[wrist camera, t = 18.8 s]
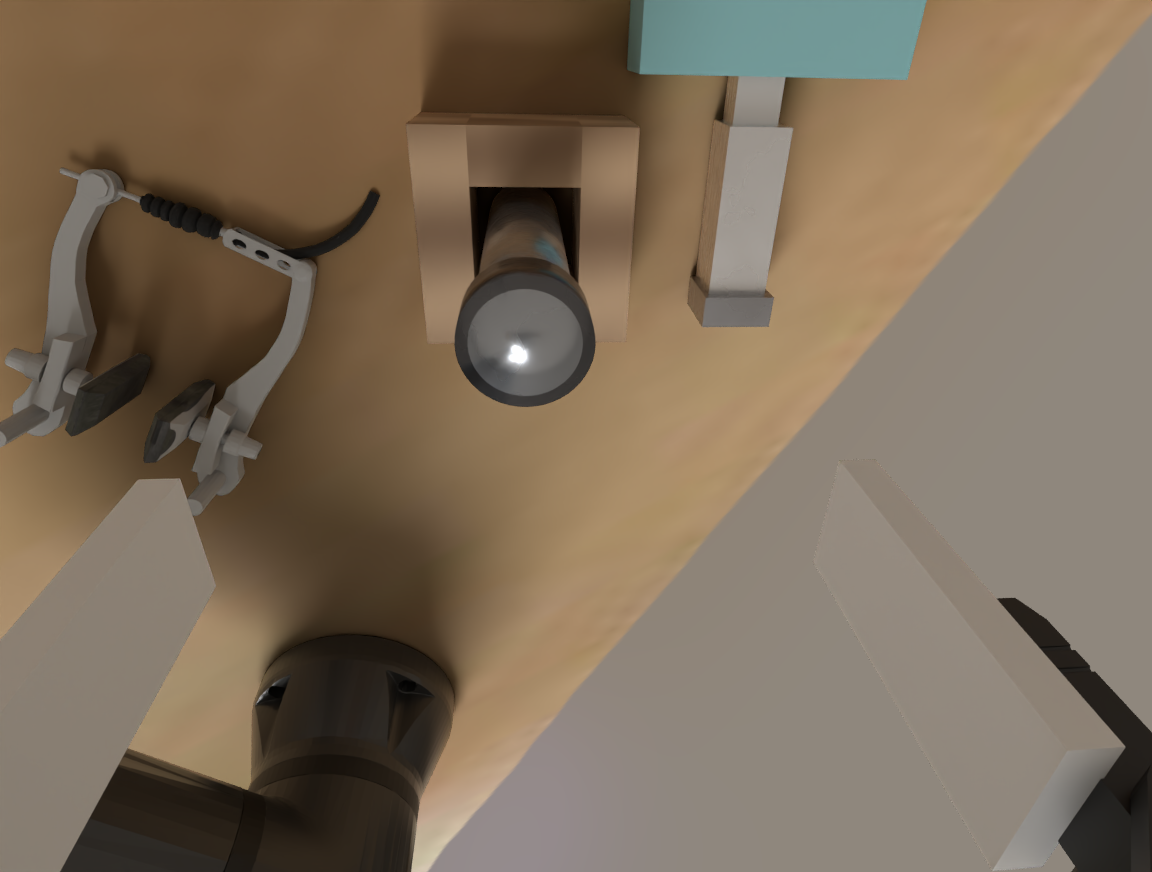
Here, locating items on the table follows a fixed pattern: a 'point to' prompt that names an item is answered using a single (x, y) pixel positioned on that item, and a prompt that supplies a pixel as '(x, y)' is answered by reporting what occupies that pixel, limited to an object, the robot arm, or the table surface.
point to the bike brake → (89, 401)
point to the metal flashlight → (524, 307)
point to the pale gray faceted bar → (741, 206)
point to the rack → (523, 159)
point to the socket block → (774, 38)
